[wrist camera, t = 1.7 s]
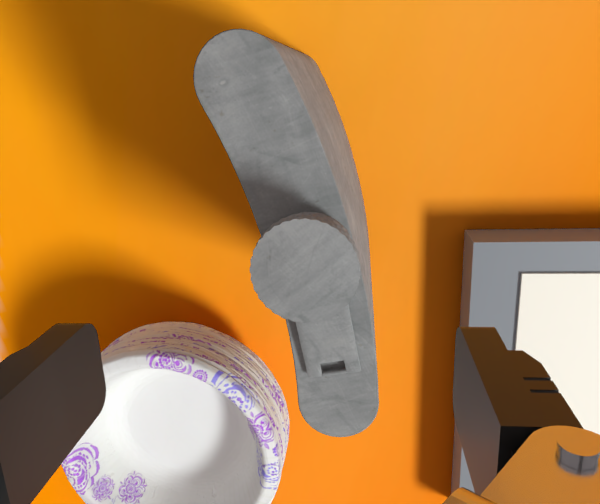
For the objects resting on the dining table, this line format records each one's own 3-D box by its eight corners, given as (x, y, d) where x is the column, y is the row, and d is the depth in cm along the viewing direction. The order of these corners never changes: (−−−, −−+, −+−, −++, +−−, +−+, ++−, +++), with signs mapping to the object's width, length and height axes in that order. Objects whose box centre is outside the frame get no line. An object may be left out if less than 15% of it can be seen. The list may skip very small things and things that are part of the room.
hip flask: (265, 60, 35) (153, 40, 16) (326, 41, 34) (287, -4, 15) (330, 288, 39) (305, 487, 20) (387, 275, 38) (415, 468, 19)
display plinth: (464, 229, 37) (474, 243, 34) (655, 227, 35) (683, 241, 32) (450, 498, 43) (457, 530, 40) (611, 505, 42) (630, 538, 39)
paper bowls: (73, 411, 45) (15, 479, 37) (157, 264, 40) (110, 308, 32) (233, 504, 46) (209, 588, 38) (333, 372, 41) (327, 438, 34)
